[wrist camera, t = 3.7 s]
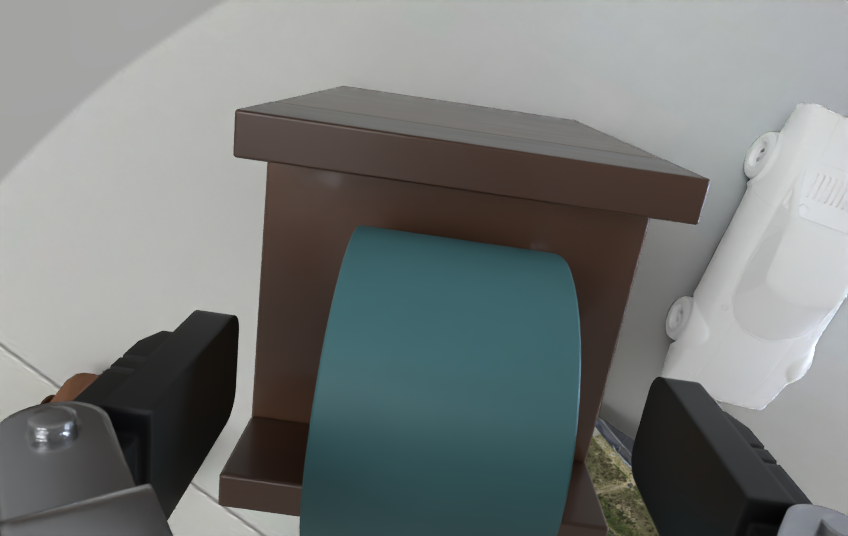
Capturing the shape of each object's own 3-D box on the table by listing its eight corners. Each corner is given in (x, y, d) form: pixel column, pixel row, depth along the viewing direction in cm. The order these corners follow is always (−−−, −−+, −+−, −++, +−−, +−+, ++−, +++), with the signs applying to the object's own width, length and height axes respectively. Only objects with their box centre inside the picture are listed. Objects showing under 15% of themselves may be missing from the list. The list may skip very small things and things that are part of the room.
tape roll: (371, 180, 14) (308, 338, 8) (550, 206, 14) (612, 380, 8) (348, 405, 17) (290, 637, 11) (496, 425, 17) (515, 668, 11)
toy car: (637, 362, 27) (663, 403, 23) (776, 84, 23) (830, 88, 20) (753, 400, 27) (795, 445, 24) (909, 134, 23) (982, 145, 20)
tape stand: (340, 85, 23) (234, 109, 12) (577, 120, 24) (712, 179, 12) (319, 305, 26) (217, 506, 14) (530, 336, 26) (601, 559, 14)
